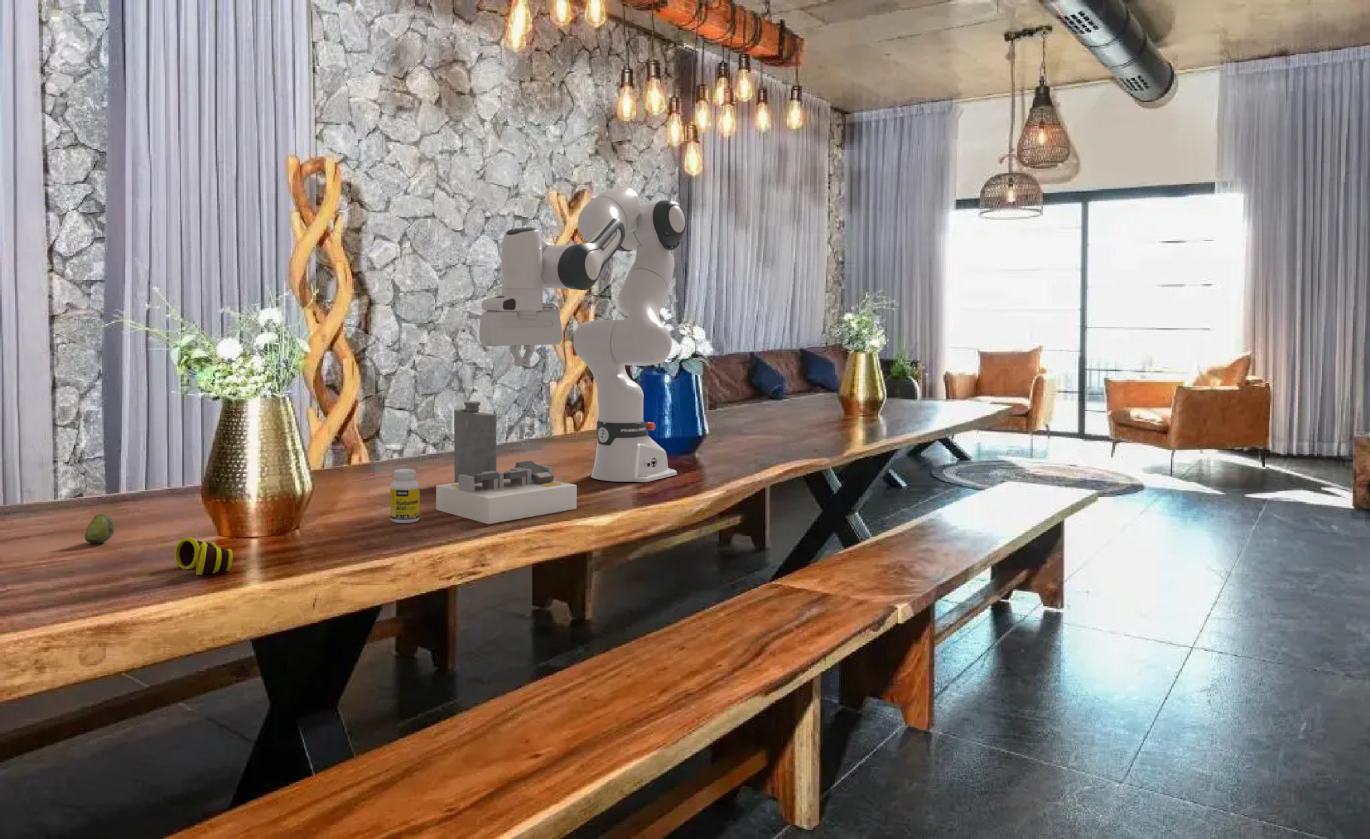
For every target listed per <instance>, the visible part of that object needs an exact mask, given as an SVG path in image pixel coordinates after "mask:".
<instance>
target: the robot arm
mask: <svg viewBox="0 0 1370 839" xmlns="http://www.w3.org/2000/svg"><path fill="white" fill-rule="evenodd" d="M577 218H578V220H577V226H578V229H579V232H580V234H581V236H582V238H583V239H584V241H586V242H585V243H575V244H555V245H554V244H551V243H549V242H548V241H546V240H545V239H544V238H543V237H542V236H541V232H540V229H538V228H536V227H516V228H511V229H509V230H507V231H506V232H505V233H504V235H503V238H502V239H503V240H502V243H501V257H500V258H501V259H500V260H501V262H500V263H501V272H502V277H503V280H502V284H501V293H499V294H498V295H495V296H492V297H489V298H486V299H484V300H482V301H481V309H482V311H483V312H482V314H481V316H480V320H479V341H480V343H481V344H482V345H483V346H484V347H485V346H486V347H503V346H504V347H507V346H509V350H510V353H511V354H512V357H513V359H514V366H515V367H520V368H521V367H530V366H531V359H532V357H533V354H534V352H535V351H536V350H535V349H536V348H535V347H536V346H542V345H543V346H545V345H547V346H550V345H554V346H555V345H560V344H561V342H562V341H563V328H562V321H561V314H560V313H561V309H560V308H559V307H558V306H557V305H556V304H555V303H551V302H549V303H546V302H544V301H543V299H544V298H543V297H544V295H543V293H544V292H543V289H558V290H561V289H562V290H563V289H564V290H565V289H566V290H569V289H570V290H577V291H589V289H591V288H592V287H593V286H594V285H595V284H596V283H597V282H598V280H599V277H601V273H602V270H603V269H604V268H605V266H606V265H607V264H608V262H609V261H610V260H611V259H612V257H614V255H615V254H616V252H617V251H618V252H633V251H636V255H635V259H634V260H635V261H633V264H632V265H631V267H630V269H629V271H628V273H627V274H626V278H625V279H624V282H623V285H622V287H621V289H620V291H619V293H618V296H617V303H618V307H619V308H620V310H621V312H622V313H623V314H624V315H625V316H626V318H624V319H596V320H589V321H585V322H582V323H580V324H579V325H578V326H577V328H576V329H575V332H574V335H573V340H572V341H573V342H572V343H573V349H574V351H575V354H576V355H577V357H578V358H579V359H580V360H581V361H583V362H584V363H585V364H586V365H587V367H588V369H589V370H590V372H591V374H592V376H593V379H594V380H595V384H596V389H597V390H596V391H597V398H598V402H597V403H598V419H597V421H596V428H595V429H596V431H595V432H596V438H597V444H596V450H595V459H594V463H593V464H594V465H593V468H592V472H591V476H590V477H591V478H592V479H595V480H600V481H607V482H630V483H631V482H634V483H635V482H636V483H648V482H653V481H656V480H660V479H664V478H670V477H672V476H677V475H678V473H677V472H678V471H677V470H675V469H673V468H670V467H669V464H668V462H669V461H668V456H667V455H668V454H667V451H666V450H665V449H664V448H663V447H661V445H659V444H658V443H657V442H656V441H655V440H654V439H652V437H650V436H649V431H655V429H656V424H655V422H653V421H652V422H650V421H648V422H645V420H644V397H645V396H644V391H643V389H642V387H641V386H640V385H639V384H638V383H637V382H635V381H634V380H632V379H631V378H630V376H629V375H628V373H627V371H626V366H635V367H637V366H638V367H640V366H641V367H643V366H644V367H647V366H652V365H653V366H654V365H659V364H662V363H664V362H666V360H667V359H668V357H669V355H670V353H671V351H672V346H673V344H672V343H673V342H672V335H671V333H670V331H669V330H668V328H667V326H665V325H664V324H663V323H662V322H661V319H660V315H661V310H662V307H663V304H664V301H665V299H666V296H667V294H668V291H669V289H670V286H671V284H672V279H673V275H674V270H675V259H674V258H675V257H674V256H673V254H672V252H671V251H674V250H675V249H677V248H678V247H679V245H680V242H681V240H682V238H683V236H684V233H685V230H686V229H687V228H686V226H687V218H686V214H685V211H684V209H683V208H682V207H681V205H680V204H679V203H678V202H677V201H674V200H670V199H669V200H667V199H665V200H664V199H662V200H659V201H653V202H647V203H641V199H640V197H639V196H638V194H637V193H636V192H635V191H634V190H633V189H631V188H630V187H628V186H624V185H618V186H615V187H612V188H610V189H608V190H606V191H604V192H601V193H600V194H599V195H597V196H596V197H594V198H593V199H592V200H590V201H589V202H588V203H587V204H586V205H584V207H583V208H582V209H581V211H580V213H579V214H578V217H577ZM522 346H523V351H524V354H523V357H522V355H521V351H522Z"/></svg>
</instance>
